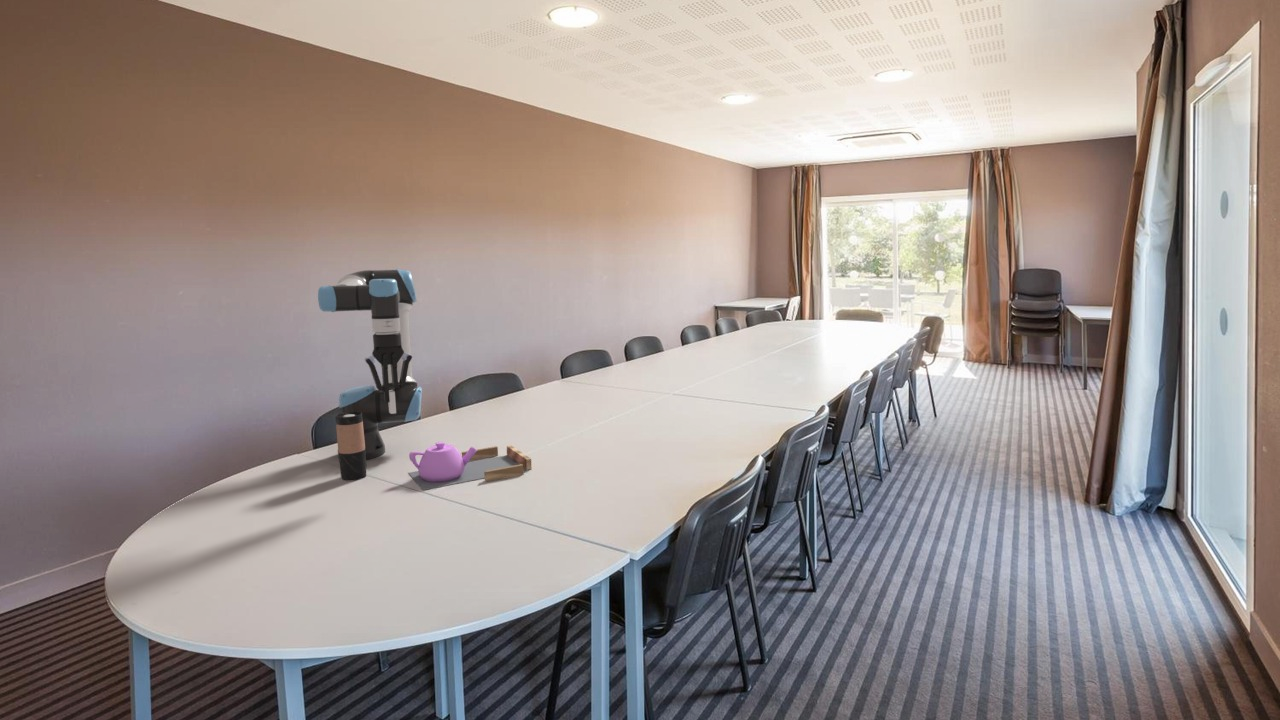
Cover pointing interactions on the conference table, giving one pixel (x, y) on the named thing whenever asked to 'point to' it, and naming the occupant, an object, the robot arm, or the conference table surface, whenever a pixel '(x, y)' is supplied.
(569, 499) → the conference table surface
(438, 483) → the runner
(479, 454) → the bay
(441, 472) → the teapot
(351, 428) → the travel mug
